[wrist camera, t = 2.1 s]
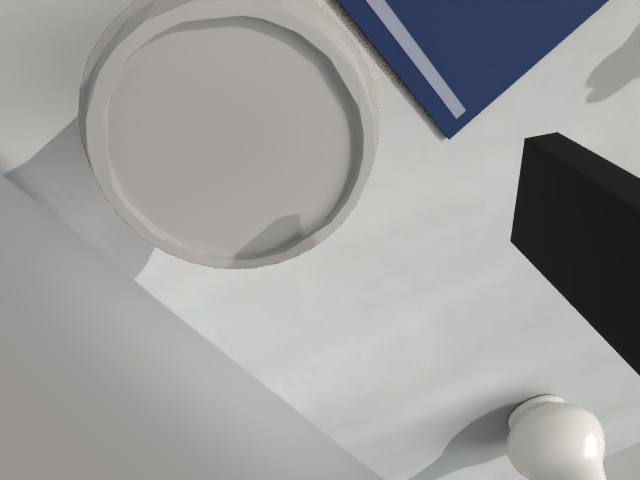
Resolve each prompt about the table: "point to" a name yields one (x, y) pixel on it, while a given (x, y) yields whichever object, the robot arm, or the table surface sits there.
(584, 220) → the robot arm
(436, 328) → the table surface
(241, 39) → the disposable coffee cup
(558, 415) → the flower vase
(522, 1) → the napkin
